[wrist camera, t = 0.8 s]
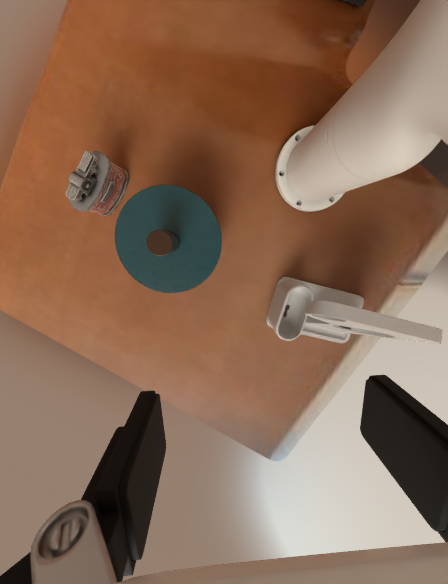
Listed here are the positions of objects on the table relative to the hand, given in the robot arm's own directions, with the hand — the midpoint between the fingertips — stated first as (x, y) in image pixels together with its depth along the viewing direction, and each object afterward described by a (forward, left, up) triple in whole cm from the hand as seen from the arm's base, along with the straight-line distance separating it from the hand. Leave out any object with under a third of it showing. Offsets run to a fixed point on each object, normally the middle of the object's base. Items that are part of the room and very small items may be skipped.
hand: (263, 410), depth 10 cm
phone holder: (-1, +18, -32) cm, 37 cm away
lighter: (-6, -23, -32) cm, 40 cm away
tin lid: (-3, -10, -20) cm, 23 cm away
